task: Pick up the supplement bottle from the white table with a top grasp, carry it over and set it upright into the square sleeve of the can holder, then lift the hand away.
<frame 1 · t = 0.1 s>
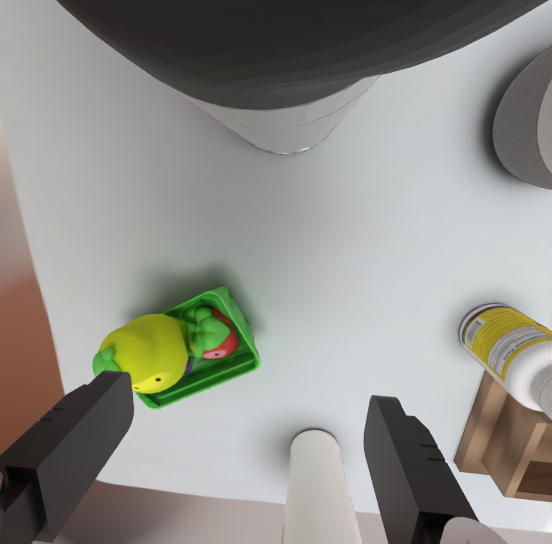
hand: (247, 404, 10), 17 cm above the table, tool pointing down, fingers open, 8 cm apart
fruit basket: (196, 319, 29), on the table
can holder: (530, 423, 30), on the table
smart speaker: (542, 121, 22), on the table
drinking glass: (314, 444, 33), on the table
supplement bottle: (487, 327, 27), on the table
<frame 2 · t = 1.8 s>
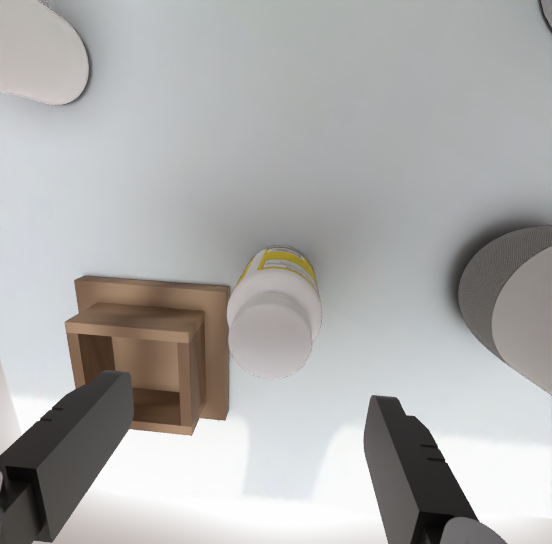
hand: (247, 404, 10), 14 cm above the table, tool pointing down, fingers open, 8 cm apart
can holder: (160, 346, 26), on the table
smart speaker: (508, 281, 22), on the table
drinking glass: (57, 64, 20), on the table
supplement bottle: (280, 277, 23), on the table
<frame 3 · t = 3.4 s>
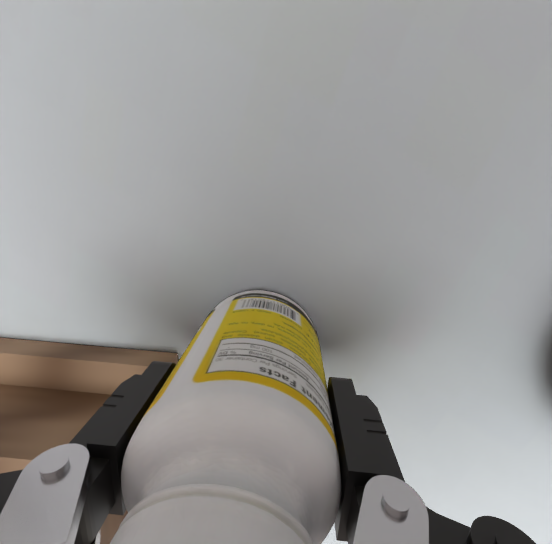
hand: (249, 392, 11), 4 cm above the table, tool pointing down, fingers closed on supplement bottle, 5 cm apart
can holder: (73, 440, 16), on the table
supplement bottle: (261, 339, 14), on the table, touching gripper
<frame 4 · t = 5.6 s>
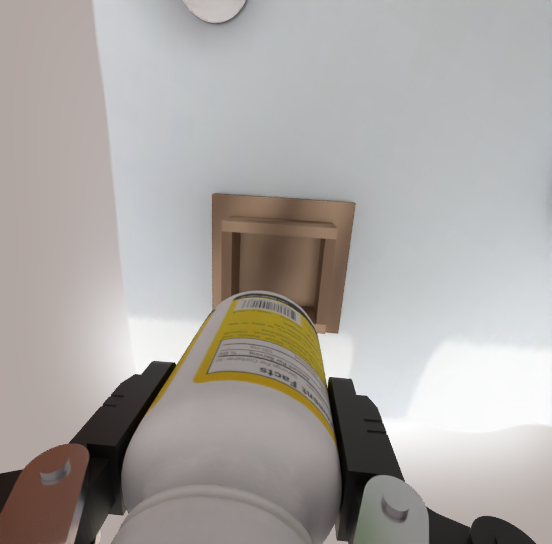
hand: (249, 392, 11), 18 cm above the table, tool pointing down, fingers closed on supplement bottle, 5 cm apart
can holder: (279, 264, 28), on the table
supplement bottle: (261, 339, 14), point 14 cm above the table, touching gripper
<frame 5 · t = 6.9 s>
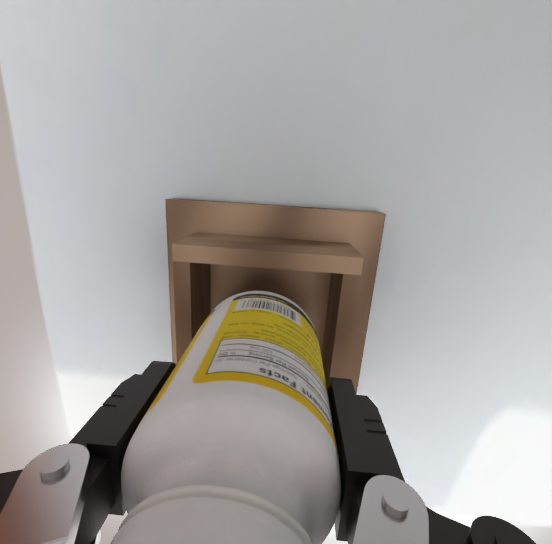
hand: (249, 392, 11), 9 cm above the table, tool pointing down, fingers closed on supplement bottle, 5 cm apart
can holder: (269, 301, 19), on the table
supplement bottle: (261, 340, 14), point 5 cm above the table, touching gripper
when the fingers open (6 cm above the table, at t = 7.9 s): supplement bottle drops 1 cm, resting on can holder.
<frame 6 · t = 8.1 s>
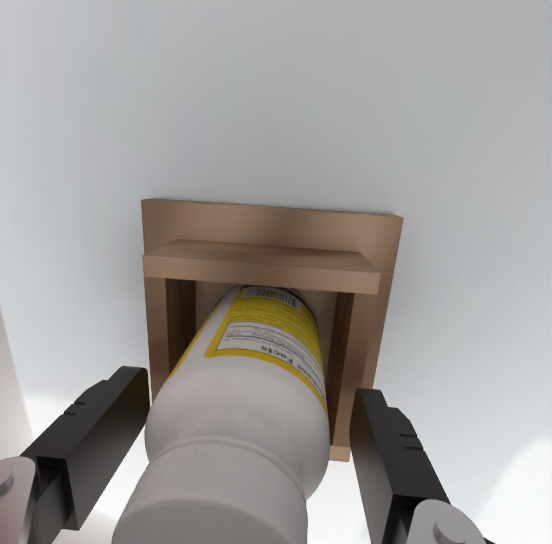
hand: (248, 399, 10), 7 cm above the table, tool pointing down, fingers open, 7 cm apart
can holder: (265, 317, 16), on the table
supplement bottle: (266, 325, 15), point 1 cm above the table, touching can holder
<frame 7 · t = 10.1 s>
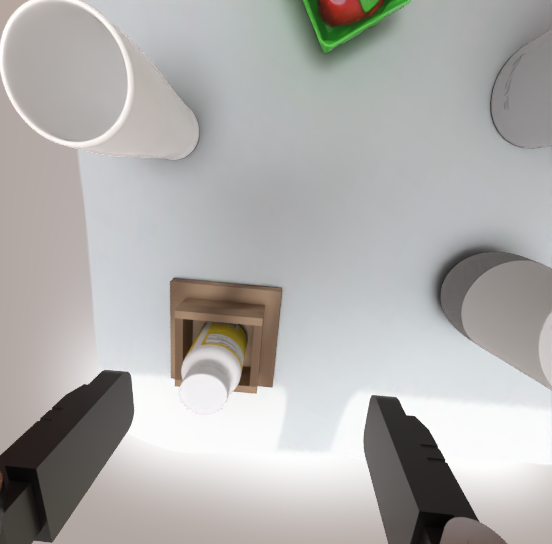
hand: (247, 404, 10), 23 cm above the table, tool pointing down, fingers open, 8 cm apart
can holder: (225, 332, 35), on the table
smart speaker: (473, 287, 33), on the table
drinking glass: (174, 131, 29), on the table
supplement bottle: (225, 335, 34), point 1 cm above the table, touching can holder
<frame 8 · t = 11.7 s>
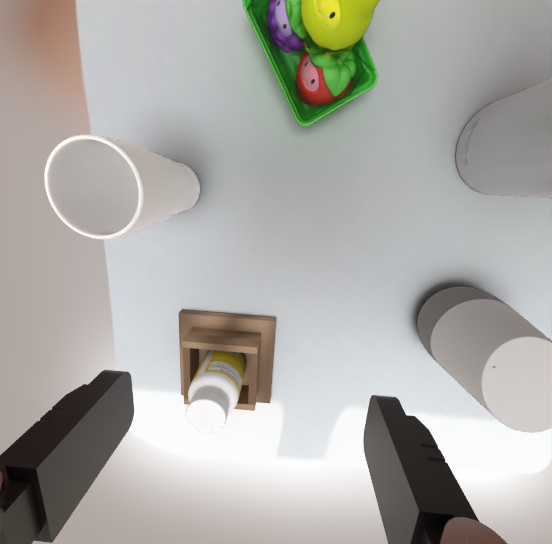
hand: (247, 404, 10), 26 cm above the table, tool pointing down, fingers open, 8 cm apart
fruit basket: (313, 61, 30), on the table
can holder: (228, 354, 39), on the table
smart speaker: (448, 315, 36), on the table
drinking glass: (179, 187, 34), on the table
supplement bottle: (227, 358, 38), point 1 cm above the table, touching can holder
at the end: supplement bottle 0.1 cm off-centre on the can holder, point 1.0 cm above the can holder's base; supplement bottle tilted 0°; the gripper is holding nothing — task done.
